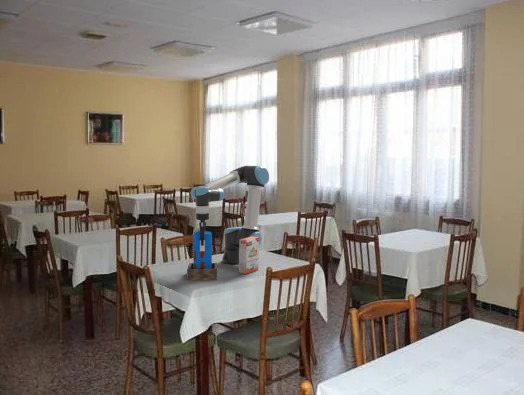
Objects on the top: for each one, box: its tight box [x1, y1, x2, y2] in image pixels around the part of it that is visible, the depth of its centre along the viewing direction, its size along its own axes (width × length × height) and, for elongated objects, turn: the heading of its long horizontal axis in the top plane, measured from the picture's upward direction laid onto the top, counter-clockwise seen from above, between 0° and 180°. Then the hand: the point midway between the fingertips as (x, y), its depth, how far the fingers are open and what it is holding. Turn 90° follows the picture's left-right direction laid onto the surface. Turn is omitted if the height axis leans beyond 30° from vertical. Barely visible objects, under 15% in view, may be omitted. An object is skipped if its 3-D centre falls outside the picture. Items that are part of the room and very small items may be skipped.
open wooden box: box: [186, 262, 218, 281], centre depth 304 cm, size 17×17×6 cm
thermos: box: [192, 230, 213, 269], centre depth 303 cm, size 11×11×25 cm
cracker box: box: [238, 237, 260, 275], centre depth 315 cm, size 14×6×21 cm, turn 147°
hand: (202, 248), depth 302 cm, fingers open, 13 cm apart
